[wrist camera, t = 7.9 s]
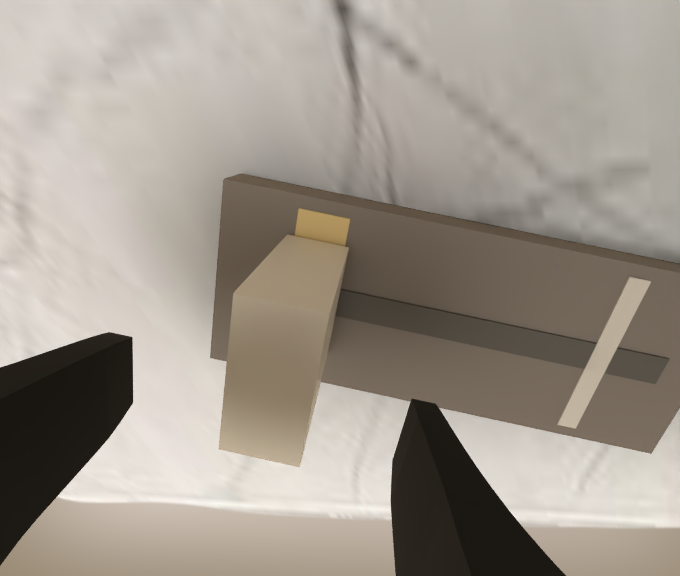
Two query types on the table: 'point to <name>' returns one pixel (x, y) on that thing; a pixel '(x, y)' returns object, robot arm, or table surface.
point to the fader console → (474, 313)
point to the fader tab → (280, 349)
